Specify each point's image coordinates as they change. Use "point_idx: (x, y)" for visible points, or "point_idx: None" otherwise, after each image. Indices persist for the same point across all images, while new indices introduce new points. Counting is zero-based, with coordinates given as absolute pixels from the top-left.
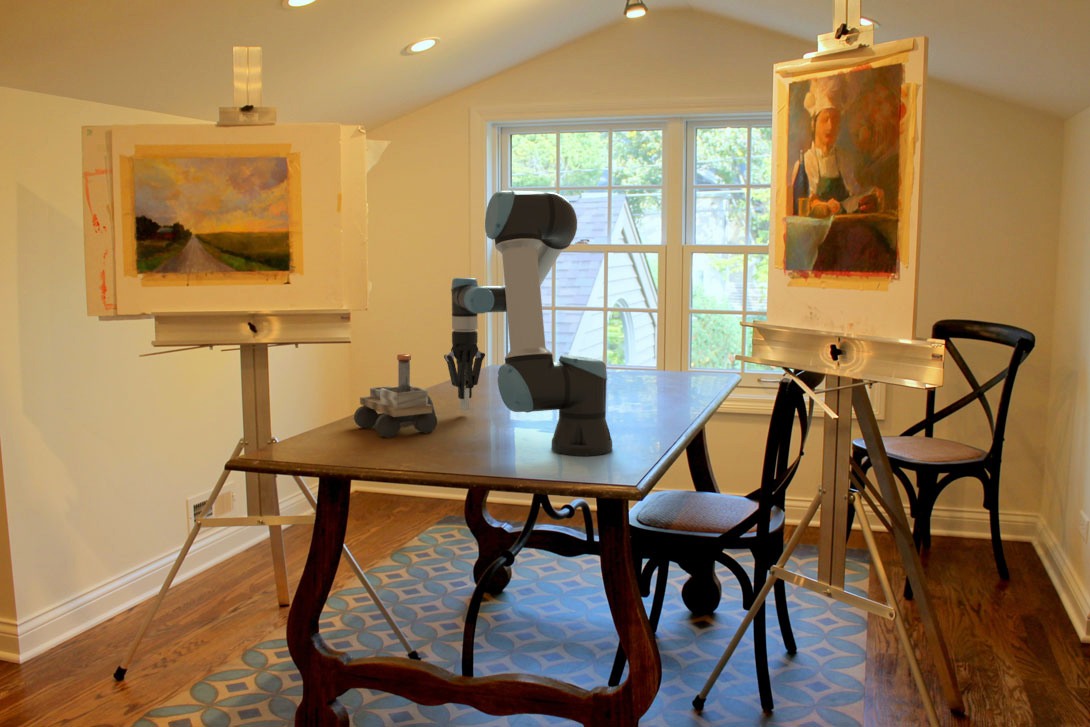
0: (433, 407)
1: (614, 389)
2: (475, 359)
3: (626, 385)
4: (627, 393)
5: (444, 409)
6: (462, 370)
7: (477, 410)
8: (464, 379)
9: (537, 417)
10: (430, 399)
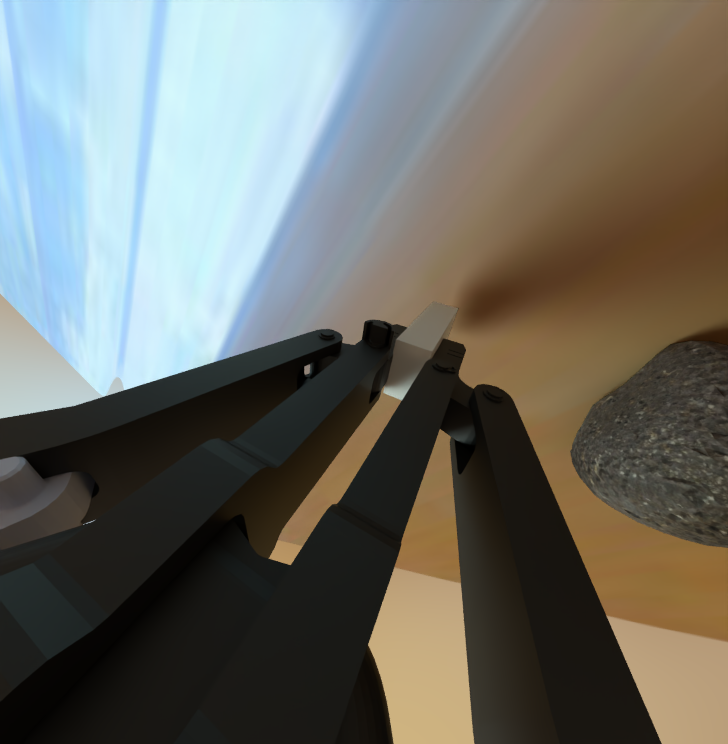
0: (696, 396)
1: (33, 283)
2: (127, 496)
3: (21, 296)
4: (6, 227)
5: None
6: (403, 467)
7: None
8: (412, 391)
9: (231, 10)
10: (710, 456)
